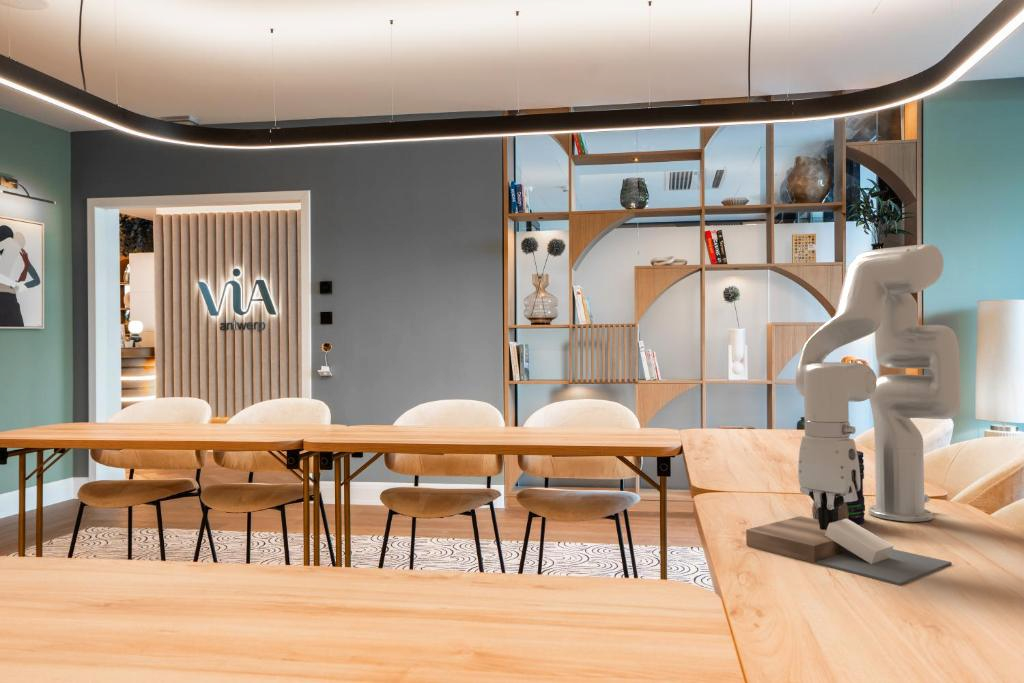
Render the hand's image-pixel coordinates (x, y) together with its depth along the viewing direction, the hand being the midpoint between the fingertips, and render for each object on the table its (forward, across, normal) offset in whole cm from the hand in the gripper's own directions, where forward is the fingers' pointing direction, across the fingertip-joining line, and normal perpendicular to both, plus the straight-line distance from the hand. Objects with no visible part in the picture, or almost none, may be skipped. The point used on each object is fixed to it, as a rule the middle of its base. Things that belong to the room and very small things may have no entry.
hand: (828, 529), depth 128 cm
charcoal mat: (+4, -10, 0) cm, 11 cm away
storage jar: (+4, +12, -24) cm, 27 cm away
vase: (+4, +9, -15) cm, 18 cm away
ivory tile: (+2, -5, 0) cm, 6 cm away
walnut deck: (+4, +4, 0) cm, 6 cm away
